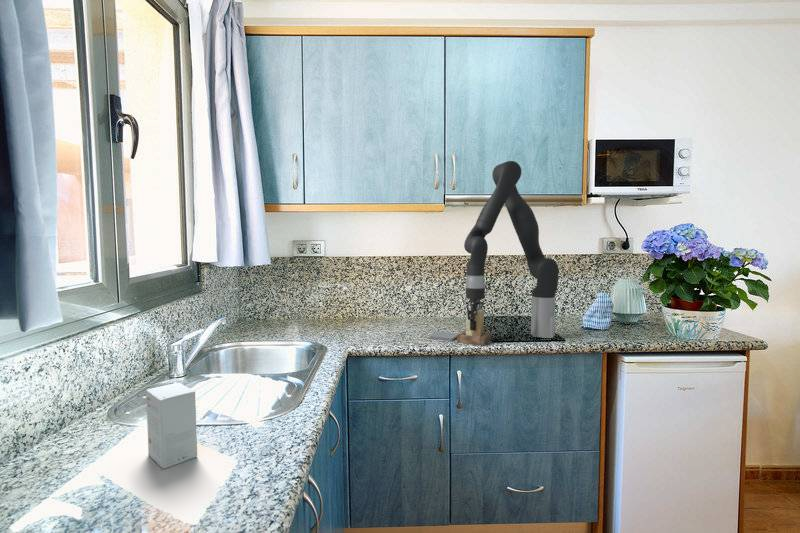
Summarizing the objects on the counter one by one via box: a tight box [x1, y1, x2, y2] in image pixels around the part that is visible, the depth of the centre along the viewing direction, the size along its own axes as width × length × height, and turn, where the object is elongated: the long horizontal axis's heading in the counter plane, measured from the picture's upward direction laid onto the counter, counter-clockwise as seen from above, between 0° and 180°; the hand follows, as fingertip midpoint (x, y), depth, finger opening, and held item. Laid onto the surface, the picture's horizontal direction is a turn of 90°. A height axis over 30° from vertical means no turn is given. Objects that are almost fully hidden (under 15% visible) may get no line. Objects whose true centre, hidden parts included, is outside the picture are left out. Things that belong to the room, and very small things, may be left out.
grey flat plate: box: [428, 330, 460, 342], centre depth 182 cm, size 10×10×1 cm
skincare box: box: [465, 308, 485, 337], centre depth 174 cm, size 6×4×12 cm
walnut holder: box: [456, 329, 492, 347], centre depth 175 cm, size 11×11×3 cm
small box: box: [145, 381, 198, 470], centre depth 84 cm, size 8×6×13 cm
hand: (474, 328), depth 175 cm, fingers closed on skincare box, 4 cm apart
